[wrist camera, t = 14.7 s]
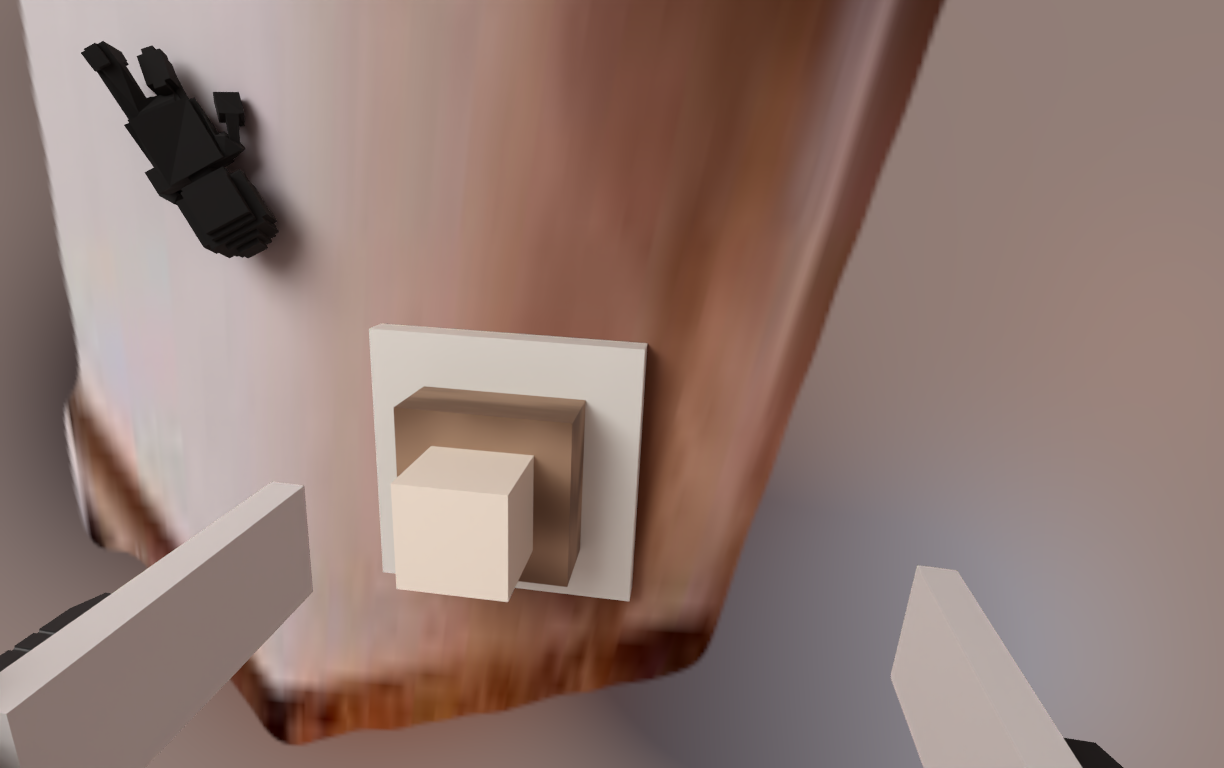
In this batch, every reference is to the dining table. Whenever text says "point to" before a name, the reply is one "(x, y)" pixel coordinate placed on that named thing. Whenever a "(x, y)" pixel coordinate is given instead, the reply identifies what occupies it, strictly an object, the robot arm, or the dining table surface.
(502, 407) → the walnut brick
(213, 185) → the toy
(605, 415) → the plinth
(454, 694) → the dining table surface
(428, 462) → the cream brick
